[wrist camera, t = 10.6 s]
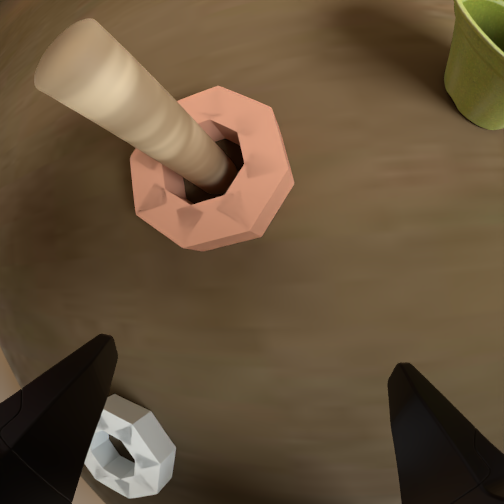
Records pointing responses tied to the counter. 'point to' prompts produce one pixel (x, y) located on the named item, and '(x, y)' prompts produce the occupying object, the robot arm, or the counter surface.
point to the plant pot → (478, 62)
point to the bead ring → (241, 190)
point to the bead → (131, 450)
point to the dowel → (130, 104)
